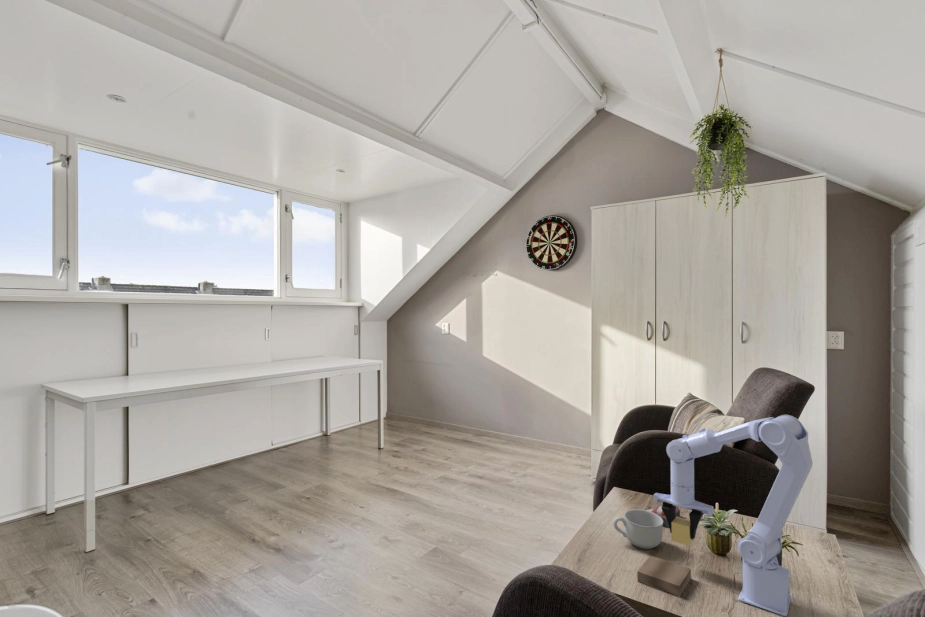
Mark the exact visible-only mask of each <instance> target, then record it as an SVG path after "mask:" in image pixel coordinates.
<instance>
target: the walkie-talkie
mask: <svg viewBox="0 0 925 617" xmlns="http://www.w3.org/2000/svg"><path fill="white" fill-rule="evenodd" d="M662 506H663V503H661V504H659V505H658V506H657V507H655V508H651V509H645V510H646V511H649V512H652V513H655V514H657V515H658V516H660V517H661V518H662V519H663V527H666V528H669V524H668V521H667V519H666V516H665V514H664V512H663V511H662ZM676 517H680V518H681V510H680V507H677V506H676V512H675V518H676Z"/></svg>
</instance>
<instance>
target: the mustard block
mask: <svg viewBox="0 0 925 617" xmlns="http://www.w3.org/2000/svg"><path fill="white" fill-rule="evenodd" d="M694 540H695V538H694V539H691V538H690V519H687V518H683V517H681V516H680V517H676V518H675V519H674V520H673V521H672V533H671V541H672V542H674V543H679V544H680V545H681V544H682V545H685V546H687V547H690V546H691V544H692V543H693V542H694Z"/></svg>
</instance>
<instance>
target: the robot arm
mask: <svg viewBox="0 0 925 617" xmlns="http://www.w3.org/2000/svg"><path fill="white" fill-rule="evenodd" d="M746 439H752V440H753V441H756V442H757V443H761V442H762V443H763V444H765V445H766V446H767V447H768V448H769V450H770V451H772V452H773V453H774V454H775V455H776V456H777V458H778V459H779V461H780V463H781V467H780V469H779V471H778V474H777V475H776V478H775V480H774V481H773V484H772V487H771V489H770V491H769V493H768V496H767V497H766V500H765V502H764V504H763V507H762V508H761V511H760V513H759V515H758V517H757V519H756V521H755V523H754V524H753V526H752V527H751V528H750V530H749V531H748V533H747V535H746V536H744V537H743V538H742V537H741V539H740V540H739V541H738V543H737V549H738V553H739V555H740V557H741V558H742V559H741V560H742V588H741V591H740V593H739V595H738V599H737V600H738V601H740V602H742V603H744V604H745V603H746V604H748V605H752V606H754V607H758V608H760V609H763V610H766V611H769V612H772V613H774V614H777V615H781V616H784V617H787V616H788V612H789V608H790V604H791V602H792V595H791V587H790V586H791V576H790V573H791V572H790V569H788V568H786V567H783V566H782V565H779V561H778V558H777V556H778V554H779V553H781V551H782V549H783V544H782V538H783V535H784V531H783V529H784V527H785V525H786V522H787V520H788V518H789V516H790V514H791V512H792V510H793V508H794V506H795V503H796V502H797V499H798V498H799V495H800V493H801V490H802V488H803V486H804V484H805V482H806V481H807V478H808V476H809V474H810V472H811V469H812V467H813V459H812V453H811V449H810V445H809V432H808V430H807V429H806V428H805V426H804V424H802V422H801V421H800V419H798V418H797V417H794V416H793V415H789V414H781V415H778V416H776V417H775V418H774V416H772V417H771V416H770V417H765V418H764V417H763V418H760V419H754V420H751V421H748V422H744V423H742V424H740V425H736V426H733V427H730V428H727V429H723V430H721V431H718V432H716V431H714V430H713V429H706V428H701V429H698V431H697V432H696V433H694V434H693V433H692V434H690V435H688V433H687V434H684V435H682V437H681V438H677V439H673V440H671V441H669V442H668V444H667V445H666V447H665V448H666V449H665V451H666V454H667V456H668V458H669V459H670V494H665V493H659V492H655V493H654V494H653V503H661V504H663V506H662V511H663V512H664V514H665V516H666V519H667V521H668V524H669V527H668V528H669V532H670V534H672V521H673V520H674V519H675V512H676V507H678V508H681V509H685V510H690V512H689V513H688V516H689V520H690V538H691V539H694V540H695V538H696V534H697V529H698V526H699V523H700V521H701V519H702V517H703V515H704V514H706V515H707V516H710V517H713V515H714V506H713V505H709V504H706V503H704V502H700V501H698V500H696V499H695V459H696V458H701V457H704V456H708V455H711V454H714V453H719V452H721V450H722V448H723V445H727V444H730V443H735V442H739V441H742V440H746Z"/></svg>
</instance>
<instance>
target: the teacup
mask: <svg viewBox="0 0 925 617" xmlns="http://www.w3.org/2000/svg"><path fill="white" fill-rule="evenodd" d="M646 510H647V509H645V510H644V509H637V508H635V509H629V510H627V511H625V512H624V513H623V514H624V517H622V516H617V517H615V518H614V519H613V521H612V524H613V527H614V529H615V530H616V531H617V532H618V533H620V534H621V535H622V536H623V537H624V538H626V539H627V540H628V541H629V542H630V543H631V544H632V545H633V546H634V547H637V548H639V549H643V550H651V549H653V548H655V547H657V546H659V545H660V544H661V543H662V539H663V530H664V529H663V527H664V526H663V519H662V518H661V517H660V516H658V515H657V514H655V513H652V512H649V511H646ZM618 522H622V523H623V526H624V527H623V528H624V530H623V529H621V528H620V527H619V526H618V525H617V524H618Z"/></svg>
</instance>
